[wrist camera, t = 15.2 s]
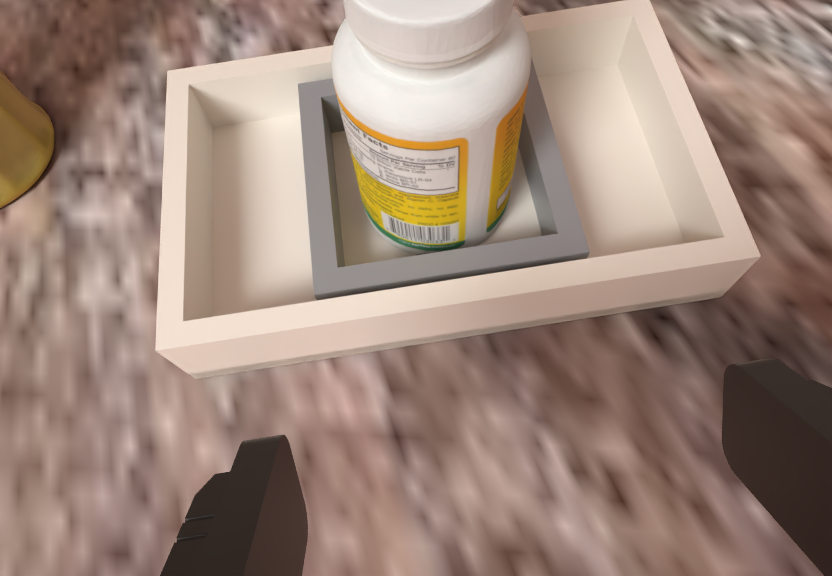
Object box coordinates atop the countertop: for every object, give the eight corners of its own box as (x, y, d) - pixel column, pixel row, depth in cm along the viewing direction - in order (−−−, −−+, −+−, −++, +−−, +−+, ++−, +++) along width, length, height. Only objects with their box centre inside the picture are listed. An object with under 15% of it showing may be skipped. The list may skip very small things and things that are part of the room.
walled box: (195, 379, 20) (155, 350, 18) (199, 124, 25) (167, 70, 22) (720, 297, 20) (760, 256, 18) (627, 58, 25) (648, -4, 22)
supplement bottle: (407, 287, 21) (371, 85, 12) (339, 176, 23) (267, -65, 14) (540, 218, 21) (596, -19, 13) (462, 116, 24) (466, -146, 15)
